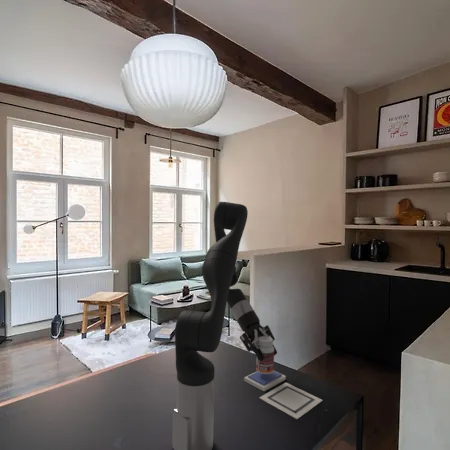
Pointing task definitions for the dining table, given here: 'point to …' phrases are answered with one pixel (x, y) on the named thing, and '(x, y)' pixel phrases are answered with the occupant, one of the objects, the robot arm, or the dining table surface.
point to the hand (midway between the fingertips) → (269, 357)
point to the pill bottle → (265, 355)
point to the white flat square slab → (291, 400)
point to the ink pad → (264, 380)
